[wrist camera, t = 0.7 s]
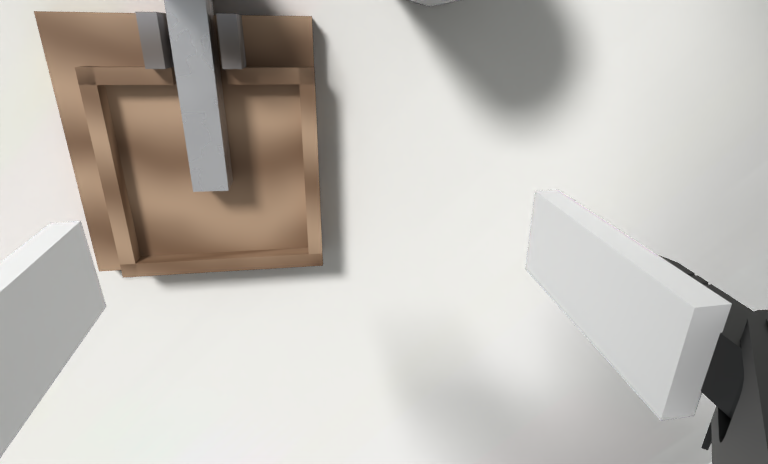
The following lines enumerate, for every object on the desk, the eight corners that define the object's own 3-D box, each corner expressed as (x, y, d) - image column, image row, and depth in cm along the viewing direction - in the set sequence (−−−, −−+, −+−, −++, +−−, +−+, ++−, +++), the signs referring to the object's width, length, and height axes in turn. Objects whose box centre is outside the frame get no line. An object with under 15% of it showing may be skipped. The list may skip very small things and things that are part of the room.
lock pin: (145, -86, 27) (86, -130, 20) (224, -83, 28) (196, -123, 20) (186, 178, 33) (153, 219, 26) (250, 176, 34) (236, 215, 26)
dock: (46, 12, 29) (9, 9, 25) (311, 17, 31) (312, 14, 27) (106, 261, 35) (84, 288, 32) (321, 250, 38) (323, 273, 34)
